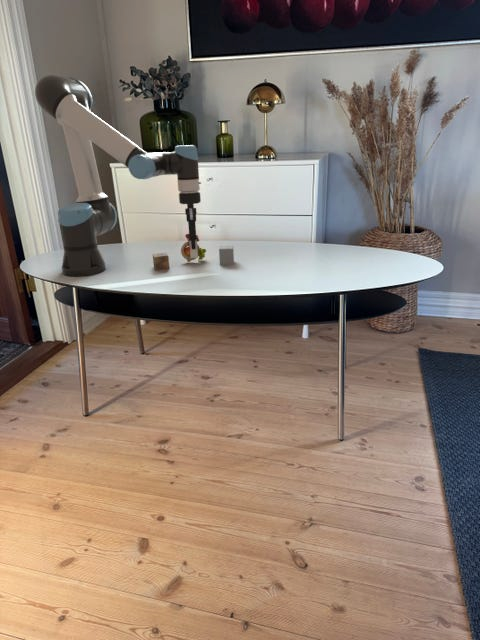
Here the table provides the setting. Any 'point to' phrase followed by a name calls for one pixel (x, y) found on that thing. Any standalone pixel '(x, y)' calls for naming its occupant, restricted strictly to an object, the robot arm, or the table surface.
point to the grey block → (226, 255)
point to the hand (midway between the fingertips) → (194, 257)
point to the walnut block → (161, 261)
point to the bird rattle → (186, 251)
